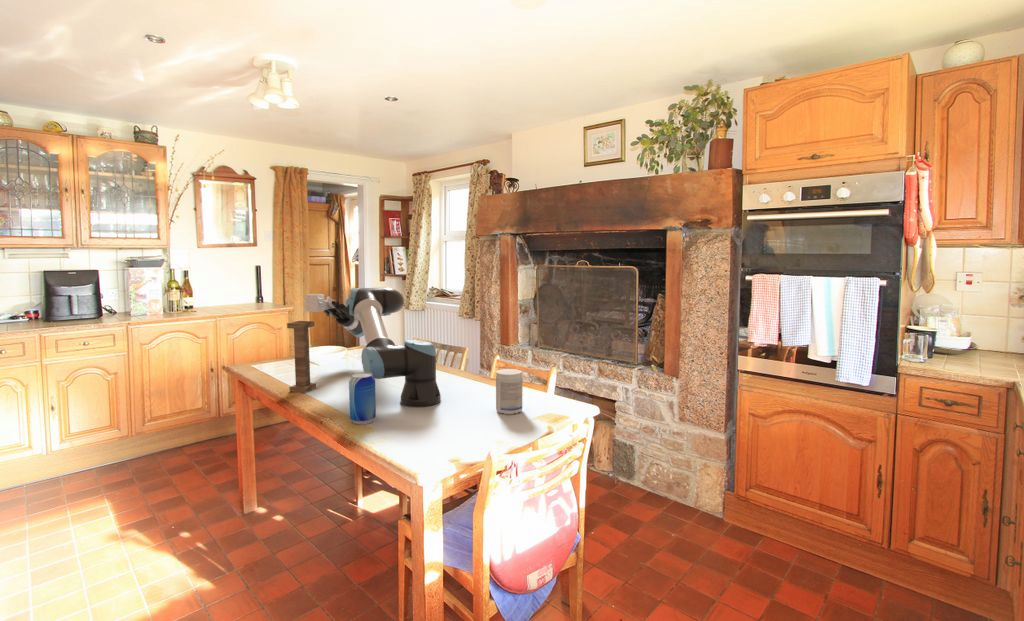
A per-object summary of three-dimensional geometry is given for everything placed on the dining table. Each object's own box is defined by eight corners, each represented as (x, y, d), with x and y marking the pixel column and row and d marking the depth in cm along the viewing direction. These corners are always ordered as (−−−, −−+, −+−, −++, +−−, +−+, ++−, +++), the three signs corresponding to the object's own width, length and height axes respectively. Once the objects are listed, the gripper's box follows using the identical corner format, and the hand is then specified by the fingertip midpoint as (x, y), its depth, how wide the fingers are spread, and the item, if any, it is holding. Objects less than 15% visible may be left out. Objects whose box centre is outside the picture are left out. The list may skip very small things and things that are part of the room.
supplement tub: (527, 411, 186) (528, 371, 184) (508, 417, 179) (509, 376, 178) (509, 405, 193) (509, 367, 191) (490, 410, 186) (490, 371, 185)
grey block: (318, 311, 214) (317, 295, 213) (305, 311, 215) (304, 294, 214) (338, 307, 229) (337, 292, 229) (325, 307, 231) (325, 291, 230)
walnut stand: (305, 393, 206) (302, 324, 203) (289, 391, 207) (287, 323, 204) (316, 387, 214) (314, 321, 210) (301, 386, 215) (298, 320, 212)
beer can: (366, 415, 179) (365, 370, 177) (380, 420, 174) (380, 374, 172) (344, 421, 173) (343, 374, 171) (359, 427, 167) (358, 379, 166)
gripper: (361, 327, 241) (338, 307, 220) (329, 326, 244) (303, 306, 223) (365, 313, 244) (342, 291, 222) (333, 311, 247) (307, 290, 226)
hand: (323, 299), depth 223 cm, fingers closed on grey block, 3 cm apart
